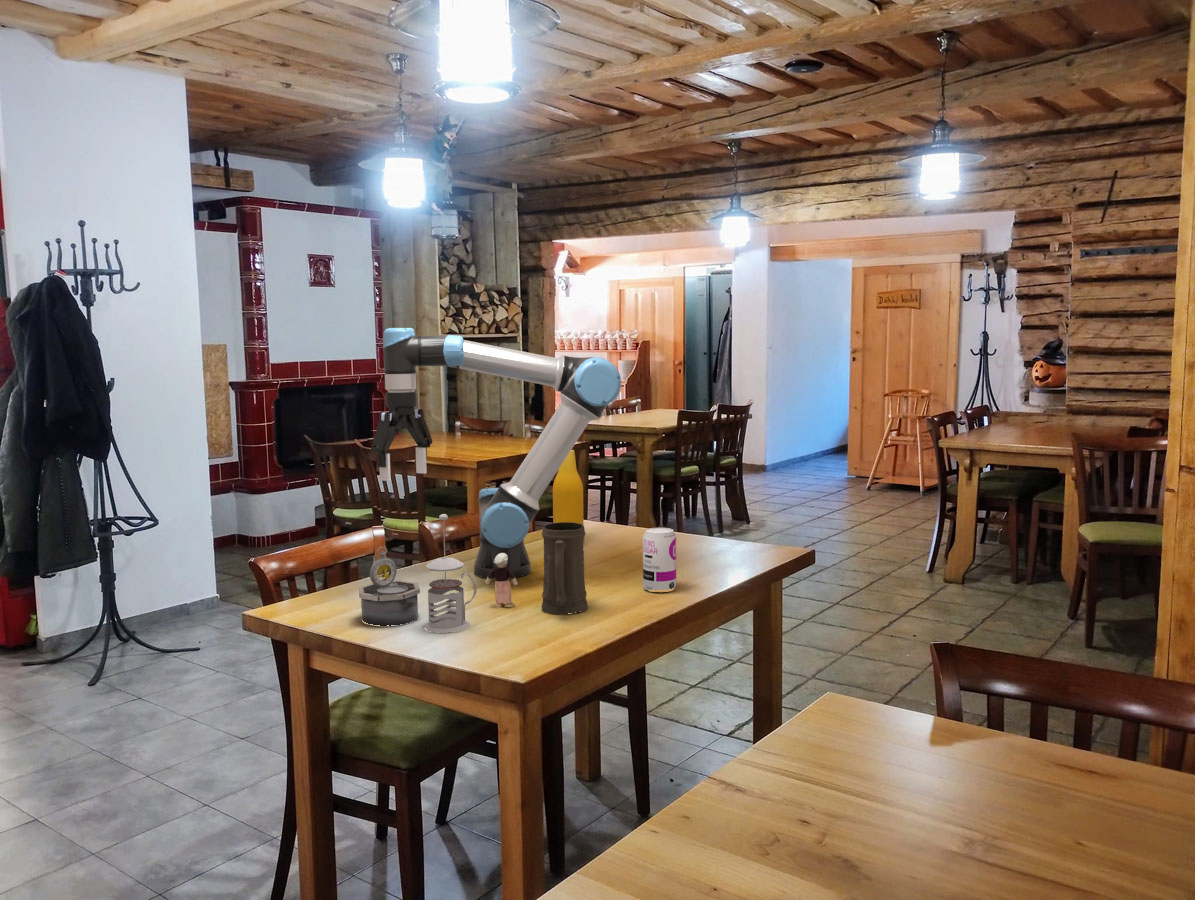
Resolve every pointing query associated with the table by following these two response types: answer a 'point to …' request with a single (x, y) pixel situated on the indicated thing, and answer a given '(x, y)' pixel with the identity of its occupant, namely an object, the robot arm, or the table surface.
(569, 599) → the beer stein
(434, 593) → the french press
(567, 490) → the beer bottle
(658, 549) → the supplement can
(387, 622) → the grey octagonal rimmed bowl
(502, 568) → the grandmother figurine
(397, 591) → the pocket watch
